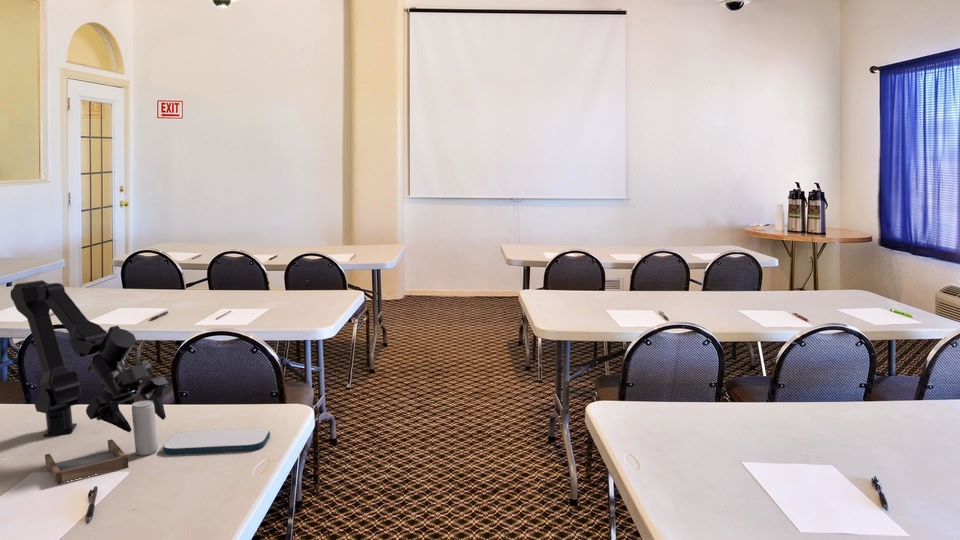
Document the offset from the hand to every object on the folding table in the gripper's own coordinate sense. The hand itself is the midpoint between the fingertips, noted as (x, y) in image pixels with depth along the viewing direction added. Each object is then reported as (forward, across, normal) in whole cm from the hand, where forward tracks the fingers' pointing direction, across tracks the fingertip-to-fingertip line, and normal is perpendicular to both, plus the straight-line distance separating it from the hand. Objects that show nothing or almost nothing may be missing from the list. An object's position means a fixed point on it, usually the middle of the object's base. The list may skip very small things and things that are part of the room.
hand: (147, 424), depth 170 cm
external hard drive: (+13, +11, -2) cm, 17 cm away
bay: (0, -11, +10) cm, 15 cm away
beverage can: (+4, 0, +6) cm, 7 cm away
